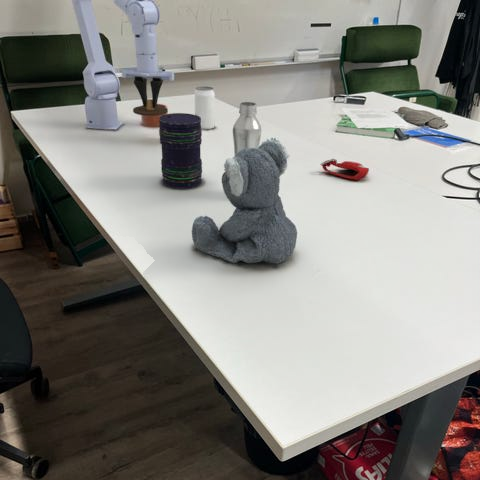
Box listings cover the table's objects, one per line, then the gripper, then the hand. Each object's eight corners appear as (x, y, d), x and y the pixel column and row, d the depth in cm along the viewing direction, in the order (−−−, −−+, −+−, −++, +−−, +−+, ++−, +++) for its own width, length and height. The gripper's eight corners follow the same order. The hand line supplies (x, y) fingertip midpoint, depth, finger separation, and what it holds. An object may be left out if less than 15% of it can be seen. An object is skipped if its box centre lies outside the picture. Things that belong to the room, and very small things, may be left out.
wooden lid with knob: (128, 114, 136) (127, 102, 134) (138, 106, 144) (137, 95, 142) (163, 116, 136) (162, 105, 134) (171, 108, 144) (170, 97, 142)
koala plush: (243, 220, 101) (247, 124, 90) (315, 248, 92) (330, 145, 81) (185, 249, 90) (181, 143, 79) (260, 283, 81) (268, 169, 70)
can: (213, 130, 157) (214, 90, 150) (194, 129, 157) (193, 89, 150) (215, 125, 162) (215, 86, 155) (196, 124, 162) (195, 85, 155)
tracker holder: (355, 162, 131) (379, 165, 123) (352, 179, 133) (374, 183, 124) (318, 155, 126) (340, 157, 118) (315, 173, 128) (336, 176, 119)
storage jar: (209, 180, 120) (209, 117, 111) (188, 192, 113) (186, 126, 104) (176, 172, 124) (174, 110, 115) (154, 183, 116) (149, 119, 108)
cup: (138, 126, 157) (137, 108, 154) (145, 120, 164) (144, 102, 161) (164, 128, 157) (163, 110, 154) (170, 121, 164) (169, 104, 160)
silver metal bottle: (261, 191, 115) (267, 102, 103) (253, 201, 110) (258, 109, 98) (236, 187, 117) (239, 99, 105) (226, 197, 111) (228, 105, 99)
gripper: (116, 53, 128) (121, 107, 136) (169, 57, 127) (171, 111, 135) (124, 50, 134) (129, 102, 142) (174, 53, 133) (176, 105, 141)
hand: (150, 106), depth 139 cm, fingers closed on wooden lid with knob, 2 cm apart
